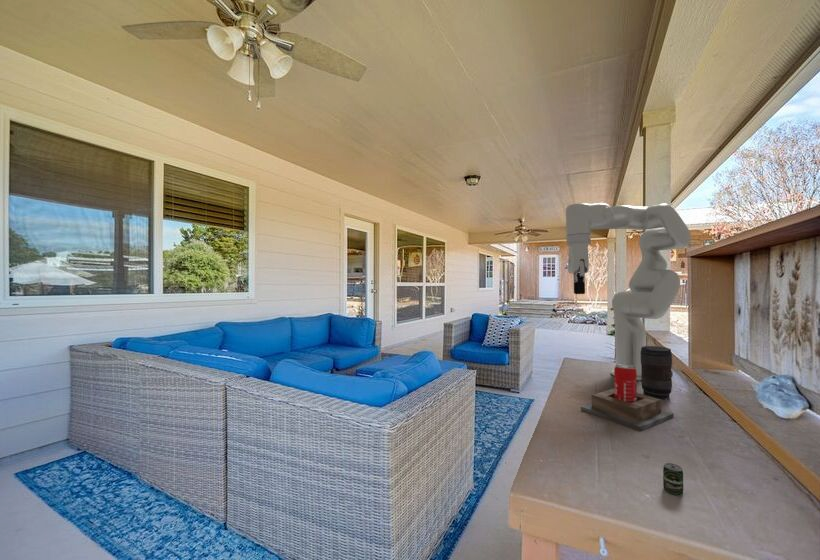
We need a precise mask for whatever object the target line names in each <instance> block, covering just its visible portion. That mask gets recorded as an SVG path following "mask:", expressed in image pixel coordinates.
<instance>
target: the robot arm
mask: <svg viewBox="0 0 820 560" xmlns="http://www.w3.org/2000/svg"><path fill="white" fill-rule="evenodd" d="M591 230H634V231H635V230H637V231H643V232H642V233H641V234H640V236H639V238H638V245H639V248H640V249H639V250H640V253H641V261H640V263H639V265H638V266H637V268H636V270H635V271H634V273H632V276H631V278H630V279H629V281H628V282H629V283H628V288H629V290H621V291H619V292H617V293H615V294H614V295H613V298H612V300H611V306H612V312H613V314H614V322H615V324H614V325H615V326H614V327H615V328H614V329H615V365H617V364H627V365H632V366H634V367H635V369H636V381H641V353H640V352H641V347H644V346H647V344H646V341H647V340H646V333H647V331H646V327H645V324H644V323H643V321H642V319H648V320H651V319H652V320H657V319H661V318H663V317H664V316H665V315H666V314H667V312H668V311H669V308H670V307H671V306H672V304H673V302H674V300H675V298H677V294H678V293H679V291H680V288H681V278H680V275H679V274H678V273H677V272H676V271H674V270H673V269H672V270H671V269H667V268H668V262H667V261H666V258H665V257H664V256H663V255H662V254H661V251H668V250H669V251H670V250H682V249H685V248H686V247H688V246H689V245H690V243H691V241H692V234H691V232H690V230H689V228H688V226H687V224H686V223H685V222H684V219H683V218H682V217H681V216H680V214H679V213H678V212H677V210H676V209H675V208H674V207H672V205H669V204H668V203H660V204H654V205H649V206H637V205H635V206H634V205H626V204H625V205H624V204H623V205H615V206H610V205H609V204H608V203H604V202H598V203H586V202H585V203H584V202H579V203H578V202H577V203H572V204H568V205H567V206H566V208H565V231H566V232H565V235H566V236H565V238H566V240H565V243H566V244H565V245H566V246H568V256H567V257H568V258H567V261H568V262H567V272H568V273H569V274H573V293H574V295H585V294H586V275H585V274H586V273H588V272H589V267H590V263H589V261H590V260H589V247H588V246H589V245H591V242H592V240H591V239H592V236H591V233H592V232H591ZM610 373H611V375H612V376H614V368H613V369H611V370H610Z"/></svg>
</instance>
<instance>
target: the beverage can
mask: <svg viewBox="0 0 820 560" xmlns="http://www.w3.org/2000/svg"><path fill="white" fill-rule="evenodd" d="M613 369H614V375H613V376H614V380H613V381H614V388H615V398H616V399H619V400H622V401H626V402H629V403H633V402H636V401H637V393H638V392H637V391H638V390H637V388H638V387H637V385H638V384H637V380H636V369H635V367H634V366H632V365H627V364H617V365H616V364H615V365H614V368H613Z"/></svg>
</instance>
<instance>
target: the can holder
mask: <svg viewBox="0 0 820 560" xmlns="http://www.w3.org/2000/svg"><path fill="white" fill-rule="evenodd" d="M580 411H582V412H585V413H588V414H590V415H595V416H597V417H599V418H603V419H604V420H605V419H606V420H608V421H611V422H613V423H617V424H620V425H622V426H625V427H629V428H631V429H634V430H637V431H639V432H642V431H644V430H646V429H649V428H651V427H654V426H657V425H658V424H660V423H663V422H665V421H668V420H669V419H672V418H674V415H675V414H674V413H673V412H670V411H666V410H663V409H662V399H657V398H654V397H650V396H646V395H644V393H643V394H642V393H639V392H637V401H636V402H633V403H629V402H626V401H622V400H619V399H616V398H615V387H613V388H610V389H607V390H603V391H601V392H597V393H593V394H591V402H590V403H588V404H584V405H581V406H580Z"/></svg>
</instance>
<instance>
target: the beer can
mask: <svg viewBox="0 0 820 560" xmlns="http://www.w3.org/2000/svg"><path fill="white" fill-rule="evenodd" d="M662 468H663V469H662V473H663V474H662V479H663V480H662V482H663V483H662V485H663V490H665V492H667V493H669V494H670V495H674V496H682V495H683V494H684V472H683V468H682V467H681V466H680V465H678V464H675V463H671V462H667V463H663V467H662Z"/></svg>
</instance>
